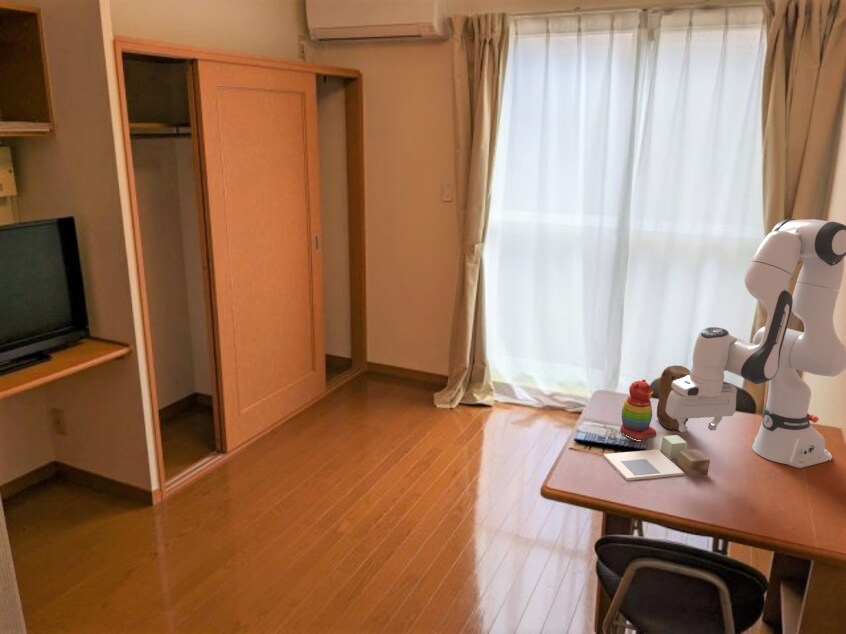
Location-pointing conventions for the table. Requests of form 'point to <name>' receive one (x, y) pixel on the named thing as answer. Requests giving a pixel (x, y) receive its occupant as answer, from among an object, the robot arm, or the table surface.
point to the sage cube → (673, 445)
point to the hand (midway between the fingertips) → (697, 430)
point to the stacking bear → (638, 412)
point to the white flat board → (643, 464)
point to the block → (664, 391)
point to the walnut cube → (693, 463)
